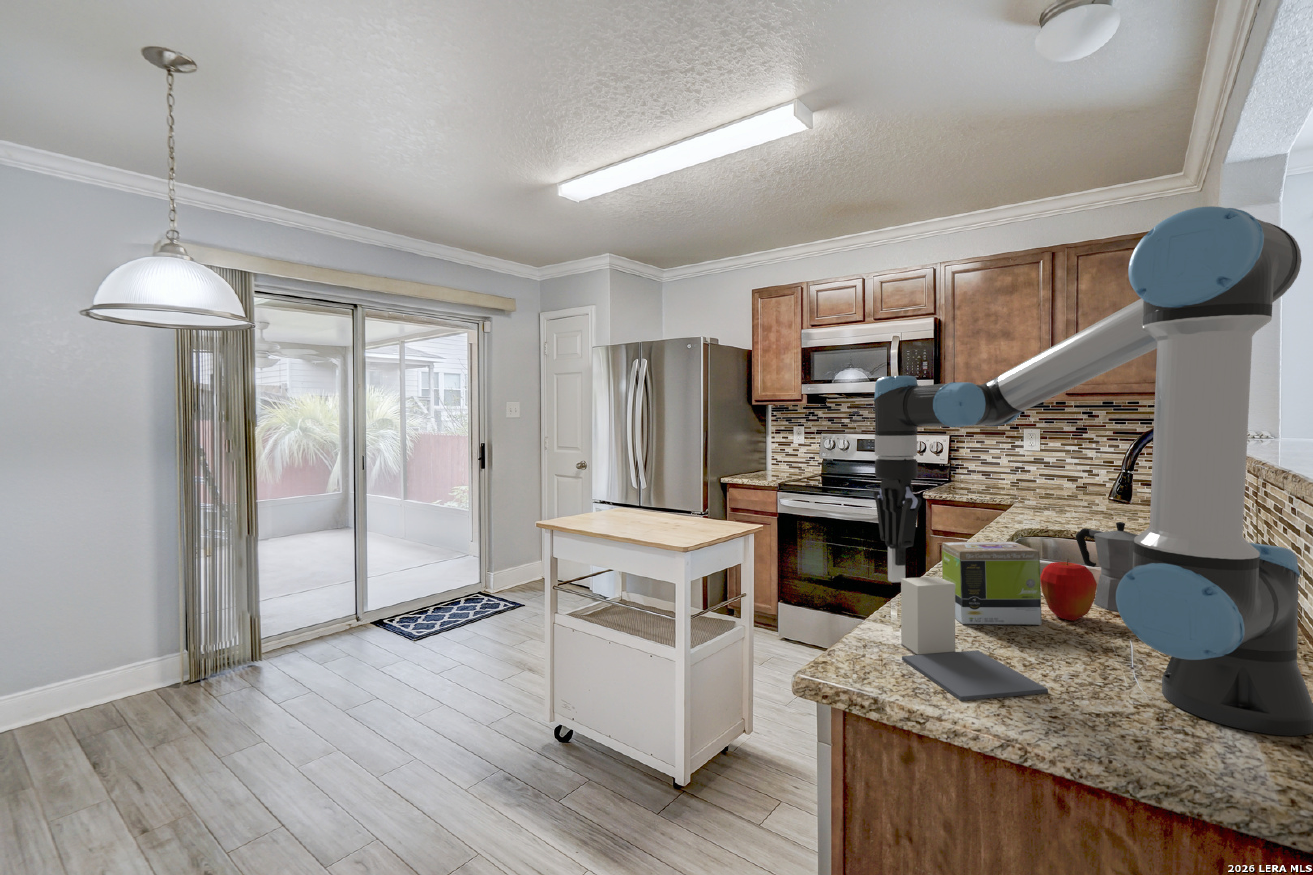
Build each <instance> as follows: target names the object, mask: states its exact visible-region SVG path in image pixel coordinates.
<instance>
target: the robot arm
mask: <svg viewBox="0 0 1313 875" xmlns="http://www.w3.org/2000/svg"><path fill="white" fill-rule="evenodd" d="M1301 265H1302V255H1301V248H1300V246H1299V243H1298V242H1297V240H1296V238H1295V237H1294V236H1293V235H1291V234H1290V233H1289V232H1288V231H1287V230H1285V229H1283V227H1280V226H1278V225H1275V224H1273V223H1270V222H1265V221H1263V220H1261V219H1257V218H1256V217H1255V216H1253V215H1252V214H1250V213H1249V212H1247V211H1244V210H1242V209H1238V208H1234V207H1222V206H1212V205H1211V206H1201V207H1200V206H1198V207H1193V208H1188V209H1186V210H1183V211H1180V212H1178V213H1175V214H1173V215H1171V216H1168V217H1166V218H1165V219H1163V220H1162V221H1160V222H1159V223H1157V224H1156V225H1155V226H1154V227H1153V228H1151V229H1150V230H1149V231H1148V232H1147V234H1145V235H1144V236H1143V237H1142V238H1141V239H1140V241H1139V242H1138V243H1137V244H1136V246H1135V248H1134V249H1133V252H1132V254H1131V256H1130V258H1129V262H1128V280H1129V283H1130V286H1131V287H1132V289H1133V290H1134V292H1135V293H1136V295H1137V296H1138V297H1139V299H1138V300H1136V301H1133V302H1132V303H1130V304H1128V305H1126V306H1125V307H1123V308H1121V309H1119V310H1117V311H1116V312H1113V313H1112V314H1110V315H1108V316H1106V317H1104V318H1102V319H1100V320H1099V321H1097V322H1095V323H1093V324H1092V325H1090V326H1088V327H1086V328H1083V329H1082V330H1080V331H1078V332H1077V333H1075V334H1073V335H1071V336H1069V337H1067V338H1066V339H1063V340H1061V341H1059V342H1058V343H1057V344H1054V345H1053V346H1051V347H1049V348H1047V349H1045V350H1043V351H1041V352H1040V353H1038V354H1036V355H1034V356H1032V357H1030V358H1028V359H1027V360H1025V361H1023V362H1021V363H1019V364H1018V365H1015V366H1014V367H1012V368H1010V369H1008V370H1006V371H1004V372H1003V373H1001V374H1000V375H997V376H996V377H994V378H992V379H990V380H989V381H987V382H985V383H982V384H975V383H974V382H968V381H967V382H963V381H960V382H959V381H958V382H956V381H953V382H948V383H947V382H946V383H938V384H926V385H918V379H917V378H916V377H915V376H913V375H893V376H892V375H890V376H883V377H879V378H878V379H877V380H876V382H875V386H874V398H873V402H874V403H873V405H874V424H875V426H874V429H875V430H874V431H875V432H874V455H875V456H876V457H877V458H876V459H875V461H874V476H875V477H876V478H877V479H880V480H881V482H880V489H879V490H874V491H873V497H874V501H875V505H876V514H877V520H878V521H877V522H878V530H879V535H880V536H879V538H880V540H881V541H883V542H885V543H884V544H885V546H886V547H887V581H888V582H891V583H901V578H906V563H907V562H906V551H907V548H910V547H913V546H914V543H915V535H916V528H917V523H918V522H917V521H918V520H917V519H918V516H919V515H918V513H919V509H920V507H921V505H922V498H921V497H916V496H915V495H914V494H913V492H914V489H913V484H912V481H913V480H915V479H917V478H918V460H917V459H916V458H915V457H917V456H918V443H919V442H918V440H917V439H918V427H936V428H937V427H939V428H940V427H942V428H943V427H944V428H945V427H949V428H963V427H971V426H972V427H976V426H977V427H981V426H982V427H985V426H986V427H998V426H999V427H1000V426H1002V425H1008V424H1011V423H1013V422H1014V421H1016V420H1017V419H1018V417H1020V415H1021V414H1022V412H1024V411H1026V410H1028V409H1030V408H1032V407H1035V406H1037V405H1039V404H1041V403H1043V402H1045V401H1047V400H1050V399H1052V398H1053V397H1056V396H1058V395H1060V394H1062V393H1064V392H1066V391H1068V390H1071V389H1073V388H1075V387H1077V386H1079V385H1082V384H1084V383H1086V382H1088V381H1090V380H1092V379H1094V378H1097V377H1098V376H1101V375H1102V374H1105V373H1107V372H1109V371H1111V370H1114V369H1116V368H1118V367H1120V366H1122V365H1124V364H1126V363H1128V362H1130V361H1133V360H1135V359H1137V358H1140V357H1142V356H1143V355H1145V354H1147V353H1150V352H1152V351H1154V350H1156V362H1155V364H1156V365H1155V366H1156V368H1155V386H1154V387H1155V390H1154V391H1155V392H1154V393H1155V394H1154V412H1153V413H1154V414H1153V415H1154V417H1153V436H1152V437H1153V440H1152V459H1151V460H1152V465H1151V487H1150V488H1151V489H1150V507H1149V508H1150V511H1149V513H1150V514H1149V526H1148V528H1147V529H1145V530H1144V531H1142V532H1141V533H1139V534H1137V535H1138V536H1136V537H1135V538H1134V551H1133V569H1132V570H1130V571H1129V572H1127V573H1126V574H1125V575H1124V576H1123V578H1122V579H1121V581H1120V582H1119V584H1118V587H1117V590H1116V605H1117V608H1118V611H1119V612H1118V613H1119V616H1120V618H1121V620H1122V621H1123V623H1124V624H1125V626H1126V627H1127V628H1128V629H1129V630H1130V631H1131V632H1132V634H1134V636H1136V637H1137V639H1138V640H1140V642H1142V643H1144V644H1145V645H1147V646H1148V647H1150V648H1151V649H1153V650H1154V651H1157V652H1158V653H1162V654H1163V655H1167V656H1170V659H1169V661H1168V664H1167V666H1166V669H1165V670H1164V672H1163V673H1162V677H1161V693H1162V696H1163V697H1164V698H1165V699H1166V700H1167V702H1168V701H1169V702H1170V703H1172V704H1173V705H1175V706H1176V707H1177V708H1179V709H1181V710H1184V711H1185V712H1188V713H1190V714H1192V715H1195V716H1197V717H1200V718H1203V719H1205V720H1208V721H1211V722H1214V723H1218V724H1220V725H1223V726H1228V727H1230V728H1236V729H1240V730H1244V731H1249V732H1254V733H1259V734H1265V735H1275V736H1303V735H1305V736H1306V735H1309V734H1312V733H1313V701H1312V697H1311V695H1310V691H1309V690H1308V687H1307V685H1306V684H1307V683H1306V682H1305V679H1304V677H1303V674H1302V672H1301V670H1300V667H1299V664H1298V629H1299V628H1298V626H1299V623H1298V621H1299V579H1300V577H1301V571H1300V570H1299V564H1298V557H1297V555H1296V553H1295V552H1294V551H1293V550H1291V549H1288V548H1287V547H1283V546H1276V545H1270V544H1261V543H1256V542H1249V541H1247V540H1246V539H1245V537H1244V536H1243V533H1244V532H1243V531H1244V514H1245V513H1244V512H1245V492H1246V474H1247V473H1246V472H1247V471H1246V470H1247V451H1248V432H1249V430H1248V429H1249V412H1250V411H1249V410H1250V390H1251V369H1252V352H1253V351H1252V349H1253V348H1252V347H1253V337H1254V335H1255V334H1256V332H1258V331H1259V330H1261V329H1262V328H1263V327H1265V326H1266V325H1267V324H1268V323H1271V321H1272V317H1273V313H1272V312H1273V303H1274V302H1275V301H1277V300H1279V299H1280V298H1281V297H1283V295H1285V294H1286V293H1287V292H1288V290H1289V289H1291V287H1292V286H1293V284H1294V283H1295V281H1296V280H1297V278H1298V276H1299V274H1300V272H1301Z"/></svg>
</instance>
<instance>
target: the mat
mask: <svg viewBox="0 0 1313 875" xmlns="http://www.w3.org/2000/svg"><path fill="white" fill-rule="evenodd" d="M901 660H902V662H905V663H906V664H907V665H909V666H910V667H912V668H914V669H915V670H916V671H917V672H919V673H920V674H921V675H924V676H925V677H926V678H927V679H929V680H930V681H932V682H933V683H935V684H936V685H938V686H939V687H941V689H943V690H944V691H946V692H947V693H948V694H950V695H952V697H954V698H956V699H957V700H959V701H961V702H963V701H973V700H984V699H986V700H987V699H996V698H1005V697H1006V698H1007V697H1008V698H1009V697H1019V696H1028V695H1037V694H1039V695H1040V694H1048V693H1049V688H1048V687H1045V685H1042V684H1041V683H1039V682H1036V681H1035V680H1033V679H1031V678H1029V677H1027V676H1026V675H1024V674H1022V673H1020V672H1018V671H1017V670H1015V669H1013V668H1011V667H1009V666H1008V665H1006V664H1004V663H1002V662H1001V661H998V660H996V659H994V658H993V657H991V656H989V655H988V654H986V653H983V652H981V651H980V650H976V649H975V650H966V651H965V650H964V651H955V652H949V653H936V654H923V655H915V654H912V655H901Z"/></svg>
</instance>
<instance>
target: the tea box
mask: <svg viewBox="0 0 1313 875" xmlns="http://www.w3.org/2000/svg"><path fill="white" fill-rule="evenodd" d="M1040 556H1041V555H1040V550H1037V549H1035V548H1031V547H1029V546H1026V545H1023V544H1020V543H1018V542H1016V541H960V542H959V541H958V542H957V541H955V542H953V541H951V542H950V541H949V542H948V541H946V542H945V541H944V542H942V543H941V565H942V568H941V569H942V571H941V572H942V579H945V580H947V581H950V582H952V583H954V584H955V621H958V623H960V624H962V625H1027V626H1028V625H1030V626H1032V625H1033V626H1035V625H1037V626H1039V625H1042V623H1043V622H1042V593H1041V592H1042V589H1041V581H1040V576H1041V557H1040Z"/></svg>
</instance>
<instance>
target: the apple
mask: <svg viewBox="0 0 1313 875" xmlns="http://www.w3.org/2000/svg"><path fill="white" fill-rule="evenodd" d="M1040 581H1041V592H1042V593H1041V594H1042V595H1043V597H1044V599H1045V602H1046V604H1047V607H1048V609H1049V610H1050V611H1051V612H1052V613H1053V614H1054V615H1055V616H1056V617H1058V618H1060V619H1062V620H1067V621H1077V620H1080V619H1081V618H1083V617H1084V616H1086V615H1088V614H1089V612H1090V610H1091V608H1092V606H1093V603H1094V601H1095V596H1096V591H1097V587H1098V583H1097V581H1096V579H1095V576H1094V574H1093V572H1092V571H1091V570H1089V568H1088V567H1087V566H1085V565H1082V564H1080V563H1079V564H1078V563H1073V562H1069V559H1067V561H1053V562H1050V563H1049V564H1047V565H1046V566H1045V567H1044V568H1043V569H1042V571H1041V572H1040Z"/></svg>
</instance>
